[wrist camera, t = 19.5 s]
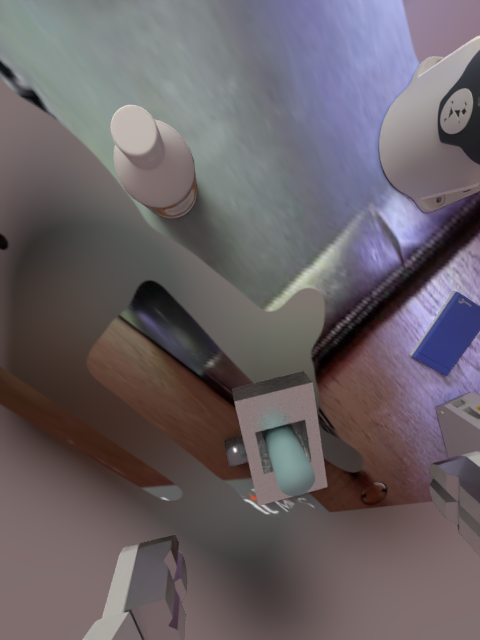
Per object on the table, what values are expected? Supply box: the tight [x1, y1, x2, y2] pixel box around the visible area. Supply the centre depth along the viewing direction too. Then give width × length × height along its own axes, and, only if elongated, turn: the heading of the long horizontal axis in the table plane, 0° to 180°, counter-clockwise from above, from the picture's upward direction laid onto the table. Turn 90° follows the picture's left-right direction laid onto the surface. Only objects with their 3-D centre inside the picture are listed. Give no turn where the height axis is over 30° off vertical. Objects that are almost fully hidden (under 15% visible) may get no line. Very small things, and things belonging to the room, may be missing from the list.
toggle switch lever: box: [263, 424, 315, 497], centre depth 43 cm, size 5×7×10 cm
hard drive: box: [410, 291, 480, 376], centre depth 47 cm, size 2×8×12 cm
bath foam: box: [111, 105, 197, 218], centre depth 27 cm, size 7×7×20 cm
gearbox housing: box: [225, 371, 327, 506], centre depth 46 cm, size 15×20×4 cm
